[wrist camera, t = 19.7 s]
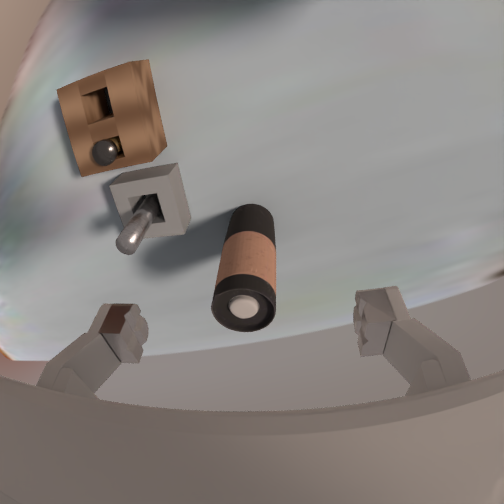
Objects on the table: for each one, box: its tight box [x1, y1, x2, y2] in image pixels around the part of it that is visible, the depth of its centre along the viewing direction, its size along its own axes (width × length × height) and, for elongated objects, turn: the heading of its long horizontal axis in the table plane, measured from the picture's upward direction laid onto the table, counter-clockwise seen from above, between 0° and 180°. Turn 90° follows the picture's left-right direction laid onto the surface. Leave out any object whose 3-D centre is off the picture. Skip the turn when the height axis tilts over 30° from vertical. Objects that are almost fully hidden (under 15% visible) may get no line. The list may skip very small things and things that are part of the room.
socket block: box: [57, 60, 167, 177], centre depth 39 cm, size 14×12×7 cm
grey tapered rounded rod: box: [116, 193, 161, 255], centre depth 44 cm, size 3×3×14 cm
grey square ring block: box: [110, 163, 191, 239], centre depth 48 cm, size 10×10×5 cm
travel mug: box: [211, 204, 276, 332], centre depth 44 cm, size 8×8×20 cm
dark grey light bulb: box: [92, 136, 123, 166], centre depth 40 cm, size 4×4×8 cm
